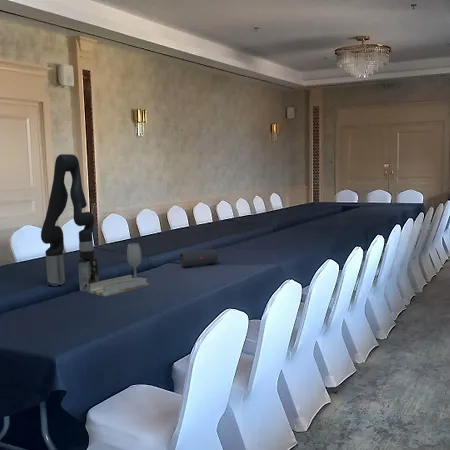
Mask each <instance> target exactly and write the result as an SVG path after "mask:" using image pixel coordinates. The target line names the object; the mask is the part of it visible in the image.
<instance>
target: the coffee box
mask: <svg viewBox="0 0 450 450" xmlns="http://www.w3.org/2000/svg"><path fill="white" fill-rule="evenodd" d="M92 260H93V261H96V264H97V272H96V273H95V280H94V281H91V273H90V268H92V266H91V265H90V261H87V260H81V261H79V260H78V261H77V267H78V268H77V269H78V282H79V291H80V292H88V290H87V289H90V288H89V283H94V282H99V281H100V280H99V268H98V259H97V258H93V259H92ZM94 269H95V268H94Z"/></svg>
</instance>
